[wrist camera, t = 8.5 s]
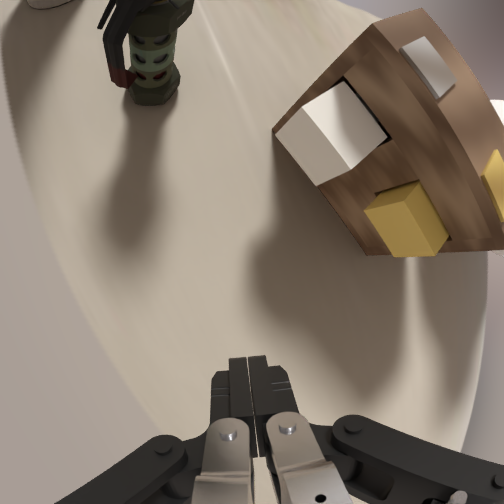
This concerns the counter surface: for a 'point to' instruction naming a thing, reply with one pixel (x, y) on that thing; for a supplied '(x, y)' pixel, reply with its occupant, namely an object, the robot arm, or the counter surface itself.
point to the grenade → (145, 46)
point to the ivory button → (331, 133)
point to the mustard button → (408, 221)
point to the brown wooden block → (419, 133)
